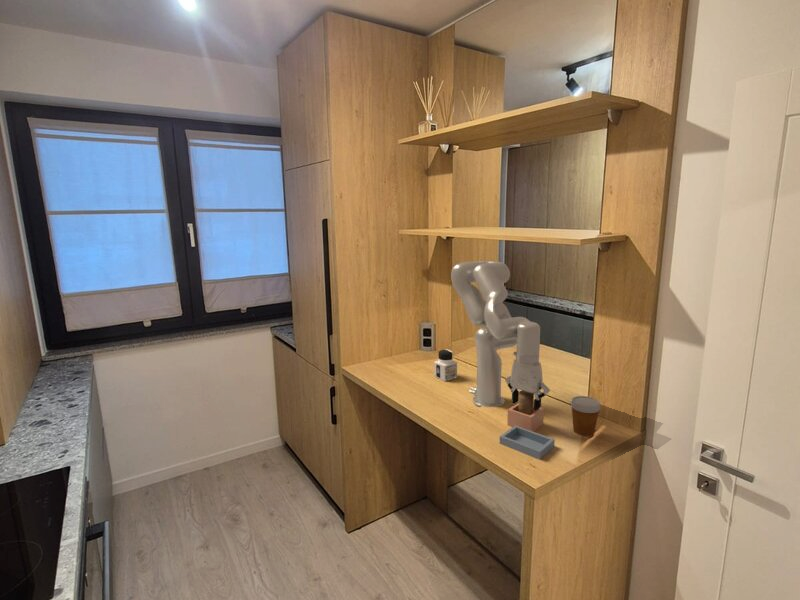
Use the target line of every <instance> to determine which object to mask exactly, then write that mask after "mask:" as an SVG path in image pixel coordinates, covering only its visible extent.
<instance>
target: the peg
mask: <svg viewBox="0 0 800 600" xmlns="http://www.w3.org/2000/svg"><path fill="white" fill-rule="evenodd" d="M518 391H519V401H518V403H519V408H518V412H521V413H524V414H527V415H532V414H533V405H534V399H535V396H534V394H533V393H530V392H526V391H523V390H518Z"/></svg>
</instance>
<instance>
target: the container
mask: <svg viewBox="0 0 800 600" xmlns="http://www.w3.org/2000/svg"><path fill="white" fill-rule="evenodd" d="M453 354H454V352H453V351H452V350H450V349H446V348H445V349H441V350H439V351H438V360H435V361H434V362H433V363H434V368H433V370H434V371H433V372H434V374H433V375H434V377H435V378H437V379H438V378H439V380H440V381H444V382H448V381H450V379H451V380H453V379H452V378H454V379H456V378H455V377H457V378H458V361H455V360H454V359H453V358H454V357H453ZM447 380H448V381H447Z"/></svg>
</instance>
